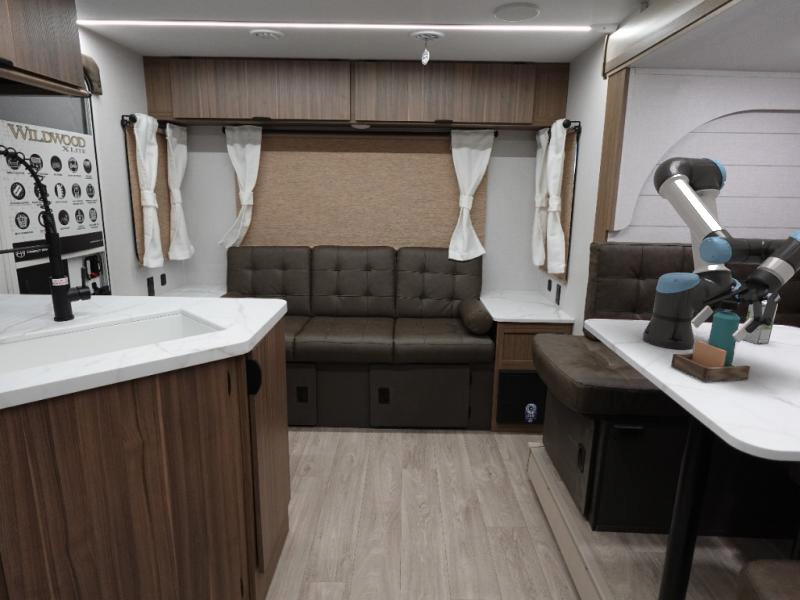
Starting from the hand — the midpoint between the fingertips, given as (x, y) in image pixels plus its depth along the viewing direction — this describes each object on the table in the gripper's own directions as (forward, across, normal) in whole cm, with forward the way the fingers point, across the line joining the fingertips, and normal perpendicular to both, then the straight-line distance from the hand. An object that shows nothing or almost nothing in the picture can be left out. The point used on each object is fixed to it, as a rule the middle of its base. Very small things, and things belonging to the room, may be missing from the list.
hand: (713, 331), depth 134 cm
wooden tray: (+8, 0, -9) cm, 12 cm away
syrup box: (-23, +24, -40) cm, 52 cm away
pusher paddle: (+8, 0, -8) cm, 11 cm away
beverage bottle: (+6, 0, -11) cm, 12 cm away
